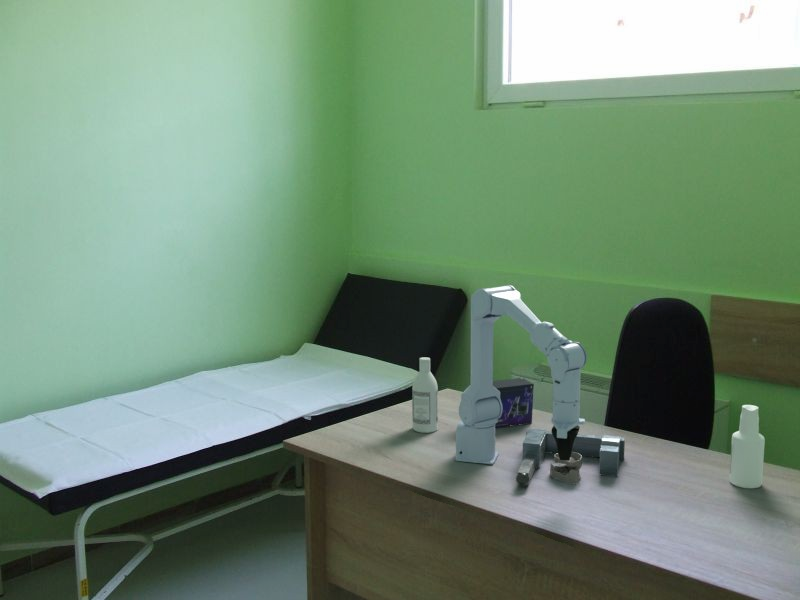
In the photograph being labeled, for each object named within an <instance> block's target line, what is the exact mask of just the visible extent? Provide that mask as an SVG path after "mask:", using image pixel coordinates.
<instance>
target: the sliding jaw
mask: <svg viewBox="0 0 800 600" xmlns="http://www.w3.org/2000/svg"><path fill="white" fill-rule="evenodd" d="M528 429H529V431H528V433H527V435H526V434H525V437H524V439H523V442H522V462H521V464H520V466H519V469H518V471H517V474H516V477H515V482H516V483H517V485H518V486H520V487H525V486H529V484H530V483H531V482H530V481H531V479H532V477H533V475H534V472H535V469H540V468H541V464H542V462H543V460H544V457H545V455H546V453H545V445H546V431H547V430H546V429H541V428H528Z"/></svg>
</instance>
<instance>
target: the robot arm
mask: <svg viewBox="0 0 800 600" xmlns="http://www.w3.org/2000/svg"><path fill="white" fill-rule="evenodd" d="M502 316H509V317H510V318H511V320H513V321H514V322H516V323H517V324H519V326H520V327H522V328H523V329H524V330H525V331H526V332H528V333H529V340H530V342H531V343H532V344H533V345H534V346H535V347H536V348H537V349H538V350H539V351H540V352H541V353H542V354H543V355H545V356H546V357H547V359H546V360H547V363H548V367H549V368H550V376H551V379H552V415H551V416H552V417H551V424H552V425H553V426H552V427H551V430H550V431H551V432H552V435H553V436H554V438H555V441H556V444H557V449H558V454H559V458H560V460H566V461H569V460H570V457H571V453H572V448H573V443H574V440H575V438H576V436H577V434H579V431H580V429H581V428H580V426H579V425H585V424H586V419H585V418H581V417H580V414H581V413H580V411H581V410H580V407H581V404H580V403H581V374H582V373H581V372H582V371H581V370H582V369H583V368H584V367H585V366H586V364H587V361H588V355H587V351H586V350H585V348H584V346H583V345H582V343H580V342H578V341H572V340H570V339H568V338H567V337H566V336H564V335H563V333H561V332H560V331H559V330H558V329H556V327H555V324H554V323H552V322H548V321H542V322H541V320H540V319H539V318H538V317H537V316H536V315H535V314H534V313H533V312H532V310H531V309H530V308H529V307H528V306H527V305H526V304H525V303H524V302H523V300H522V295H521V293H520V292H519V291H518V290H517V289H516V287H514V286H513V285H510V284H507V285H506V284H505V285H502V286H495V287H488V288H478V289H477V290H475V291H474V292H473V293H472V294H471V295H470V383H469V385H468V387H466V388H465V390H464V391H463V392H461V394H460V402H459V404H458V405H459V406H458V415H459V418H460V420H461V421H459V422H458V423H457V426H456V433H455V461H457V462H464V463H465V462H466V463H474V464H475V463H476V464H484V465H494V464H495V462H496V460H497V458H498V457H499V454H500V451H496V428H495V424H496V423H498V418H500V417H501V415H502V411H503V407H502V403H501V399H500V391H499V390H497V389H496V388H495V387H494V386H493V381H494V380H493V379H494V377H493V376H494V324H495V322H496V321H497V320H498V319H500V318H501V317H502Z"/></svg>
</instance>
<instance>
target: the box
mask: <svg viewBox="0 0 800 600" xmlns="http://www.w3.org/2000/svg"><path fill="white" fill-rule="evenodd" d="M534 385H535V384H534V383H533V382H531V381H530V380H529V379H526V378H525V377H515V378H509V379H500V380H493V386H494V387H495V388H496V389H497V390H499V391H500V399H501V403H502V407H503V411H502V415H501V417H500V418H498V423H496V424H495V429H499V427H501V428H505V426H508V427H511V426H510V425H515V426H520V425H519V424H523V425H527V424H526V423H529V424H532V423H533V406H534Z"/></svg>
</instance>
